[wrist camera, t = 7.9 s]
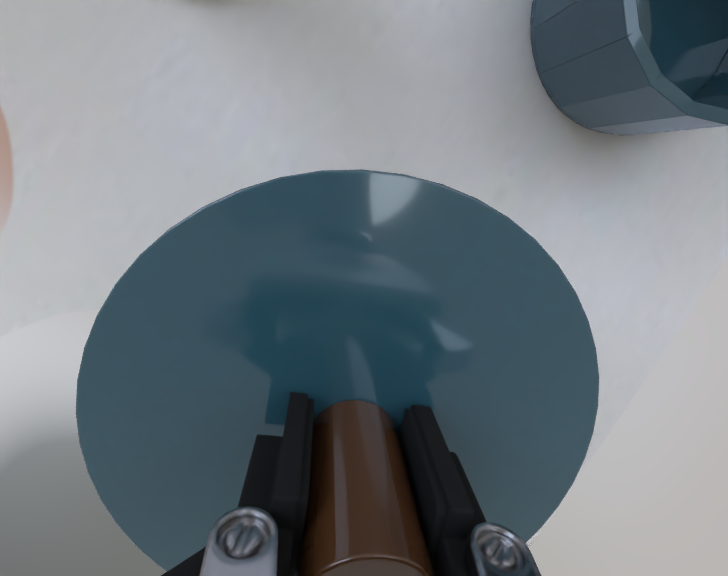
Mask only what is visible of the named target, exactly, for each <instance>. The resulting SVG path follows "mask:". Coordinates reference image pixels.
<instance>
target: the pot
mask: <svg viewBox="0 0 728 576" xmlns="http://www.w3.org/2000/svg"><path fill="white" fill-rule="evenodd" d="M531 43H532V51H533V56H534V60H535V64H536V68H537V71H538V74H539V76H540V79H541V82H542V84H543V86H544V87H545V89H546V91H547V93H548V95H549V96H550V98H551V99H552V100H553V102H554V103H555V104H556V105H557V107H558V108H559V109H560V110H561V111H562V112H563V113H564V114H565V115H567V116H568V117H569V118H571V119H572V120H573V121H575V122H576V123H578V124H580V125H582V126H584V127H586V128H588V129H591V130H594V131H597V132H601V133H608V134H617V135H634V134H645V133H656V132H667V131H678V130H689V129H700V128H711V127H722V126H728V0H533V2H532V12H531Z"/></svg>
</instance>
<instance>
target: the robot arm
mask: <svg viewBox="0 0 728 576" xmlns="http://www.w3.org/2000/svg"><path fill="white" fill-rule="evenodd" d="M313 415H314V399H308V394H306V393H297V392H290V397H289V403H288V409H287V415H286V421H285V427H284V433H283V437H282V436H271V435H260V434H257V436H256V440H255V443H254V447H253V451H252V455H251V458H250V462H249V466H248V470H247V474H246V477H245V481H244V485H243V489H242V492H241V496H240V500H239V504H238V507H237V508H235V509H232V510H230V511H227V512H226V513H225V514H223V515H222V516H220V517H219V518H218V519H217V521H216V522H215V523H214V524H213V525H212V528H211V530H210V533H209V535H208V540H207V544H206V547H204V548H203V549H201V550H200V551H198V552H197V553H195V554H194V555H192V556H190V557H189V558H187V559H186V560H184V561H183V562H181V563H180V564H178V565H177V566H175V567H174V568H172V569H171V570H169V571H168V572H166V573H164V574H163V575H162V576H296V571H297V558H298V554H299V550H300V547H301V541H302V535H303V529H304V523H305V517H306V511H307V504H308V496H309V482H310V465H311V448H312V432H313ZM398 437H399V441H400V445H401V449H402V453H403V456H404V460H405V464H406V468H407V472H408V476H409V480H410V484H411V487H412V491H413V495H414V499H415V503H416V507H417V511H418V515H419V519H420V522H421V526H422V530H423V534H424V538H425V542H426V546H427V550H428V553H429V557H430V561H431V565H432V569H433V573H434V576H541V574H540V572H539V570H538V567H537V565H536V563H535V561H534V558H533V556H532V554H531V552H530V550H529V548H528V547H527V545H526V543H525V542H524V541H523V540H522V539H521V538H520V537H519V536H518V535H517V534H515V533H514V532H513V531H511V530H510V529H508V528H506V527H504V526H502V525H500V524H496V523H492V522H487V521H486V519H485V517H484V514H483V512H482V510H481V508H480V505H479V503H478V501H477V499H476V496H475V494H474V492H473V490H472V487H471V485H470V483H469V480H468V478H467V476H466V474H465V471H464V469H463V467H462V465H461V462H460V460H459V458H458V456H457V454H456V453H454V452H449V449H448V447H447V444H446V442H445V440H444V437H443V435H442V433H441V430H440V428H439V425H438V423H437V421H436V418H435V416H434V414H433V411H432V409H431V407H429V406H420V405H412V406H411V408H410V409H405V411H404V415H403V419H402V423H401V428H400V432H399V436H398Z"/></svg>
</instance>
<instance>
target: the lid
mask: <svg viewBox="0 0 728 576" xmlns="http://www.w3.org/2000/svg"><path fill="white" fill-rule="evenodd" d="M290 392H297V393H306V394H308V399H314V415H313V432H312V448H311V465H310V482H309V496H308V504H307V511H306V517H305V523H304V529H303V535H302V541H301V547H300V550H299V554H298V558H297V571H296V576H434V573H433V569H432V565H431V561H430V557H429V553H428V550H427V546H426V542H425V538H424V534H423V530H422V526H421V522H420V519H419V515H418V511H417V507H416V503H415V499H414V495H413V491H412V487H411V484H410V480H409V476H408V472H407V468H406V464H405V460H404V456H403V453H402V449H401V445H400V441H399V437H398V436H399V432H400V428H401V423H402V419H403V415H404V411H405V409H410V408H411V406H412V405H420V406H429V407H431V409H432V411H433V414H434V416H435V418H436V421H437V423H438V425H439V428H440V430H441V433H442V435H443V437H444V440H445V442H446V444H447V447H448V449H449V452H454V453H456V454H457V456H458V458H459V460H460V462H461V465H462V467H463V469H464V471H465V474H466V476H467V478H468V480H469V483H470V485H471V487H472V490H473V492H474V494H475V496H476V499H477V501H478V503H479V505H480V508H481V510H482V512H483V514H484V517H485V519H486V521H487V522H492V523H496V524H500V525H502V526H504V527H506V528H508V529H510V530H511V531H513V532H514V533H515V534H517V535H518V536H519V537H520V538H521V539H522V540H523V541H524V542H525V543H526V542H527V541H528V540H529V539H530V538H531V537H532V536H533V535H534V534H535V533H536V532H537V531H538V530H539V529H540V528H541V527H542V526H543V525H544V523H545V522H546V521H547V520H548V519H549V517H550V516H551V515H552V514H553V512H554V511H555V510H556V509H557V507H558V506H559V505H560V503H561V501H562V500H563V498H564V497H565V495H566V494H567V492H568V490H569V489H570V487H571V486H572V484H573V482H574V480H575V478H576V476H577V474H578V472H579V470H580V467H581V465H582V463H583V461H584V459H585V456H586V453H587V450H588V447H589V444H590V441H591V438H592V435H593V431H594V425H595V420H596V414H597V409H598V393H599V372H598V363H597V354H596V347H595V344H594V340H593V336H592V333H591V329H590V325H589V321H588V319H587V317H586V314H585V312H584V310H583V308H582V305H581V303H580V301H579V299H578V296H577V294H576V292H575V290H574V289H573V287H572V286H571V284H570V282H569V281H568V279H567V278H566V276H565V275H564V273H563V272H562V270H561V269H560V267H559V265H558V264H557V263H556V262H555V261H554V260H553V259H552V257H551V256H550V255H549V254H548V253H547V252H546V251H545V250H544V249H543V247H542V246H541V245H540V244H539V243H538V242H537V241H536V240H535V239H534V238H533V237H532V236H530V235H529V234H528V233H527V232H526V231H524V230H523V229H522V228H521V227H519V226H518V225H517V224H516V223H515V222H513V221H512V220H511V219H510V218H508V217H507V216H505V215H503V214H502V213H500V212H498V211H497V210H495V209H493V208H492V207H490V206H488V205H487V204H485V203H483V202H482V201H480V200H478V199H476V198H474V197H472V196H469V195H467V194H464V193H462V192H460V191H457V190H455V189H452V188H450V187H448V186H445V185H443V184H439V183H435V182H432V181H428V180H424V179H420V178H416V177H412V176H408V175H404V174H397V173H388V172H379V171H370V170H322V171H315V172H309V173H303V174H297V175H291V176H284V177H280V178H276V179H273V180H270V181H267V182H263V183H260V184H257V185H254V186H250V187H247V188H244V189H241V190H238V191H236V192H234V193H232V194H230V195H228V196H225V197H223V198H221V199H219V200H217V201H215V202H213V203H210V204H208V205H206V206H204V207H202V208H201V209H199V210H197V211H196V212H194V213H193V214H191V215H190V216H188V217H187V218H185V219H184V220H182V221H181V222H179V223H178V224H176V225H175V226H173V227H171V228H170V229H169V230H167V231H166V232H165V233H164V234H163V235H162V236H161V237H160V238H158V239H157V240H156V241H155V242H154V243H153V244H152V245H151V246H149V247H148V248H147V249H146V250H145V251H144V252H143V253H141V254H140V255H139V257H138V258H137V259H136V260H135V261H134V263H133V264H132V265H131V266H130V267H129V269H128V270H127V271H126V272H125V273H124V275H123V276H122V277H121V278H120V279H119V281H118V282H117V283H116V284H115V286H114V288H113V289H112V291H111V293H110V294H109V296H108V298H107V299H106V301H105V303H104V304H103V306H102V308H101V309H100V311H99V313H98V315H97V317H96V320H95V322H94V324H93V327H92V329H91V332H90V335H89V337H88V340H87V342H86V345H85V347H84V352H83V356H82V361H81V366H80V371H79V375H78V380H77V399H76V418H77V426H78V435H79V442H80V447H81V450H82V454H83V457H84V461H85V464H86V468H87V471H88V474H89V476H90V478H91V480H92V482H93V485H94V487H95V489H96V491H97V493H98V495H99V498H100V500H101V501H102V502H103V504H104V506H105V507H106V509H107V510H108V512H109V513H110V515H111V516H112V518H113V519H114V521H115V523H116V524H117V525H118V526H119V527H120V529H121V530H122V531H123V532H124V533H125V534H126V535H127V537H128V538H129V539H130V540H131V541H132V542H133V543H134V544H135V546H137V547H138V548H139V549H140V550H141V551H142V552H143V553H144V554H146V555H147V556H148V557H149V558H150V559H151V560H152V561H154V562H155V563H156V564H157V565H158V566H160V567H161V568H163V569H164V570H166V571H167V572H168V571H169V570H171V569H172V568H174V567H175V566H177V565H178V564H180V563H181V562H183V561H184V560H186V559H187V558H189V557H190V556H192V555H194V554H195V553H197V552H198V551H200V550H201V549H203V548H204V547H206V544H207V540H208V535H209V533H210V530H211V528H212V525H213V524H214V523H215V522H216V521H217V519H218V518H219V517H220V516H222V515H223V514H225V513H226V512H227V511H230V510H232V509H235V508H237V507H238V504H239V500H240V496H241V492H242V489H243V485H244V481H245V477H246V474H247V470H248V466H249V462H250V458H251V455H252V451H253V447H254V443H255V440H256V436H257V434H260V435H271V436H282V437H283V433H284V427H285V421H286V415H287V409H288V403H289V397H290Z"/></svg>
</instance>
